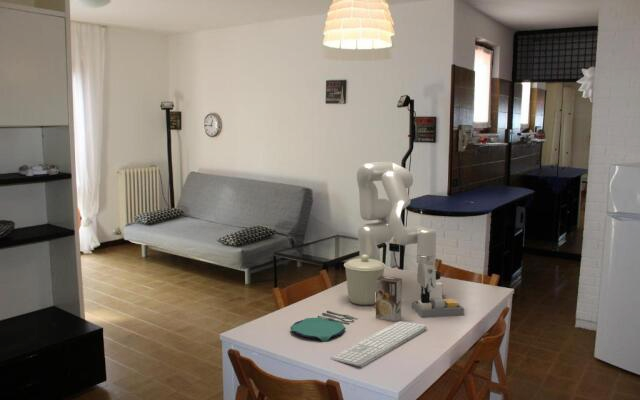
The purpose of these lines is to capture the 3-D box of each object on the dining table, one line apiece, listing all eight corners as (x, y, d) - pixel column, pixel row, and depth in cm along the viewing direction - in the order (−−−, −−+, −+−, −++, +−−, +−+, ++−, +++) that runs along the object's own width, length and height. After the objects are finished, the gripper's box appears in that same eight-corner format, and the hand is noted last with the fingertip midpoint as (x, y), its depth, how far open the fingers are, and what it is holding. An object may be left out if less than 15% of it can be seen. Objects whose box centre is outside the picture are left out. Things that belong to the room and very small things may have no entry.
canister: (373, 293, 255) (374, 248, 252) (392, 305, 238) (393, 257, 235) (337, 297, 248) (337, 251, 246) (354, 310, 232) (354, 261, 229)
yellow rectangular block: (448, 310, 228) (448, 303, 228) (443, 306, 234) (443, 299, 234) (457, 309, 229) (457, 302, 229) (452, 305, 235) (452, 298, 234)
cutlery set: (280, 334, 206) (280, 328, 206) (324, 312, 231) (324, 307, 231) (326, 346, 195) (326, 340, 195) (366, 322, 221) (366, 317, 220)
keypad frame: (421, 317, 224) (421, 310, 223) (411, 307, 235) (412, 300, 235) (463, 315, 226) (464, 308, 226) (452, 305, 238) (452, 298, 238)
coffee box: (402, 316, 224) (402, 278, 222) (396, 321, 219) (397, 282, 216) (380, 313, 229) (381, 275, 226) (374, 318, 223) (375, 279, 221)
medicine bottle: (442, 299, 247) (443, 273, 245) (426, 299, 247) (426, 272, 245) (439, 294, 254) (440, 268, 252) (423, 294, 254) (424, 268, 252)
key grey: (435, 308, 227) (435, 301, 227) (430, 304, 233) (430, 297, 233) (444, 308, 228) (444, 301, 228) (439, 303, 234) (439, 296, 233)
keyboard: (399, 323, 219) (399, 317, 218) (427, 330, 211) (427, 324, 211) (328, 360, 185) (328, 353, 185) (359, 370, 177) (359, 363, 177)
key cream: (422, 311, 227) (422, 304, 226) (417, 307, 232) (417, 300, 232) (431, 311, 227) (431, 304, 227) (426, 306, 233) (427, 299, 232)
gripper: (441, 262, 220) (440, 307, 222) (428, 254, 235) (427, 296, 237) (423, 263, 219) (422, 308, 221) (411, 255, 234) (410, 297, 236)
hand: (425, 302), depth 229 cm, fingers closed
